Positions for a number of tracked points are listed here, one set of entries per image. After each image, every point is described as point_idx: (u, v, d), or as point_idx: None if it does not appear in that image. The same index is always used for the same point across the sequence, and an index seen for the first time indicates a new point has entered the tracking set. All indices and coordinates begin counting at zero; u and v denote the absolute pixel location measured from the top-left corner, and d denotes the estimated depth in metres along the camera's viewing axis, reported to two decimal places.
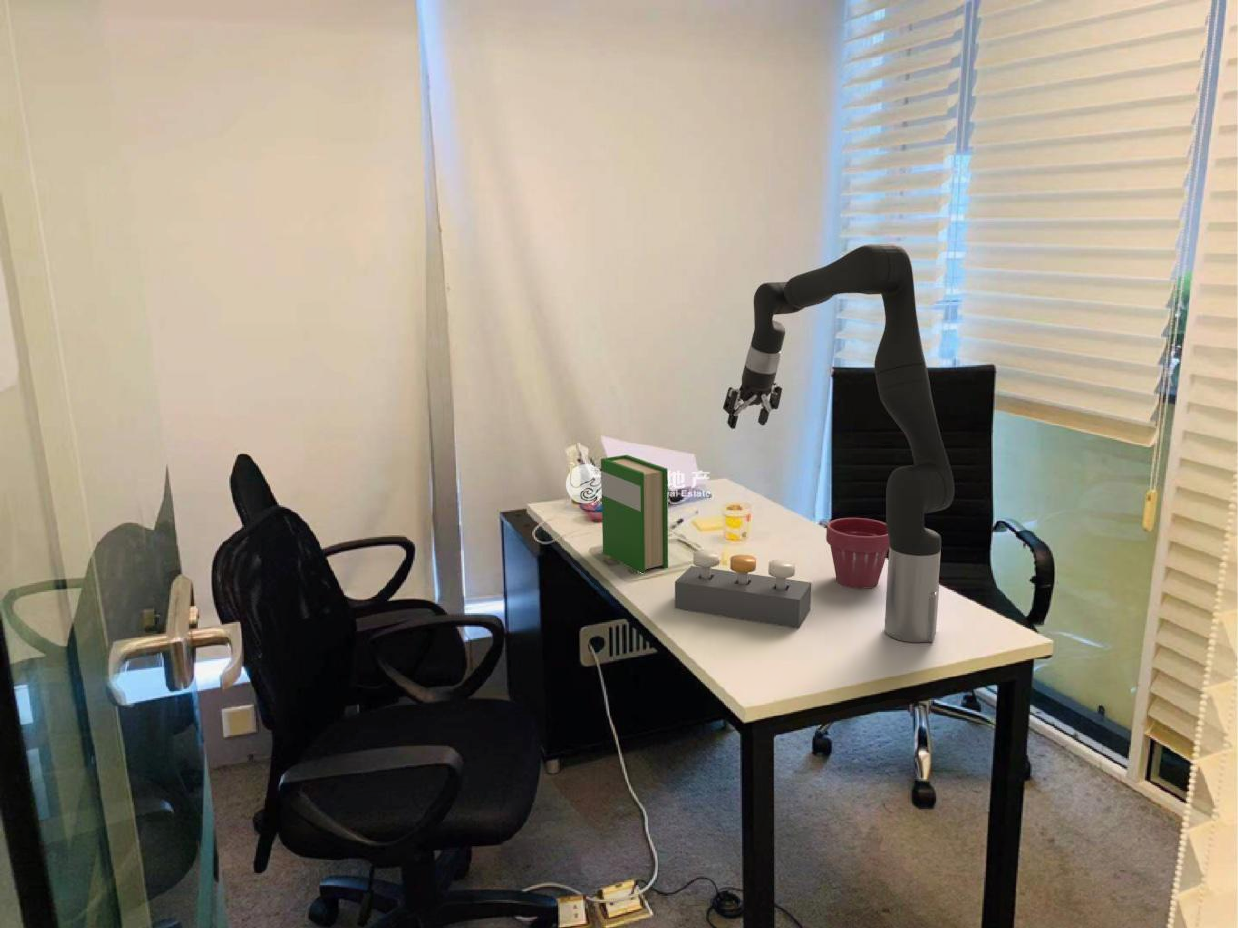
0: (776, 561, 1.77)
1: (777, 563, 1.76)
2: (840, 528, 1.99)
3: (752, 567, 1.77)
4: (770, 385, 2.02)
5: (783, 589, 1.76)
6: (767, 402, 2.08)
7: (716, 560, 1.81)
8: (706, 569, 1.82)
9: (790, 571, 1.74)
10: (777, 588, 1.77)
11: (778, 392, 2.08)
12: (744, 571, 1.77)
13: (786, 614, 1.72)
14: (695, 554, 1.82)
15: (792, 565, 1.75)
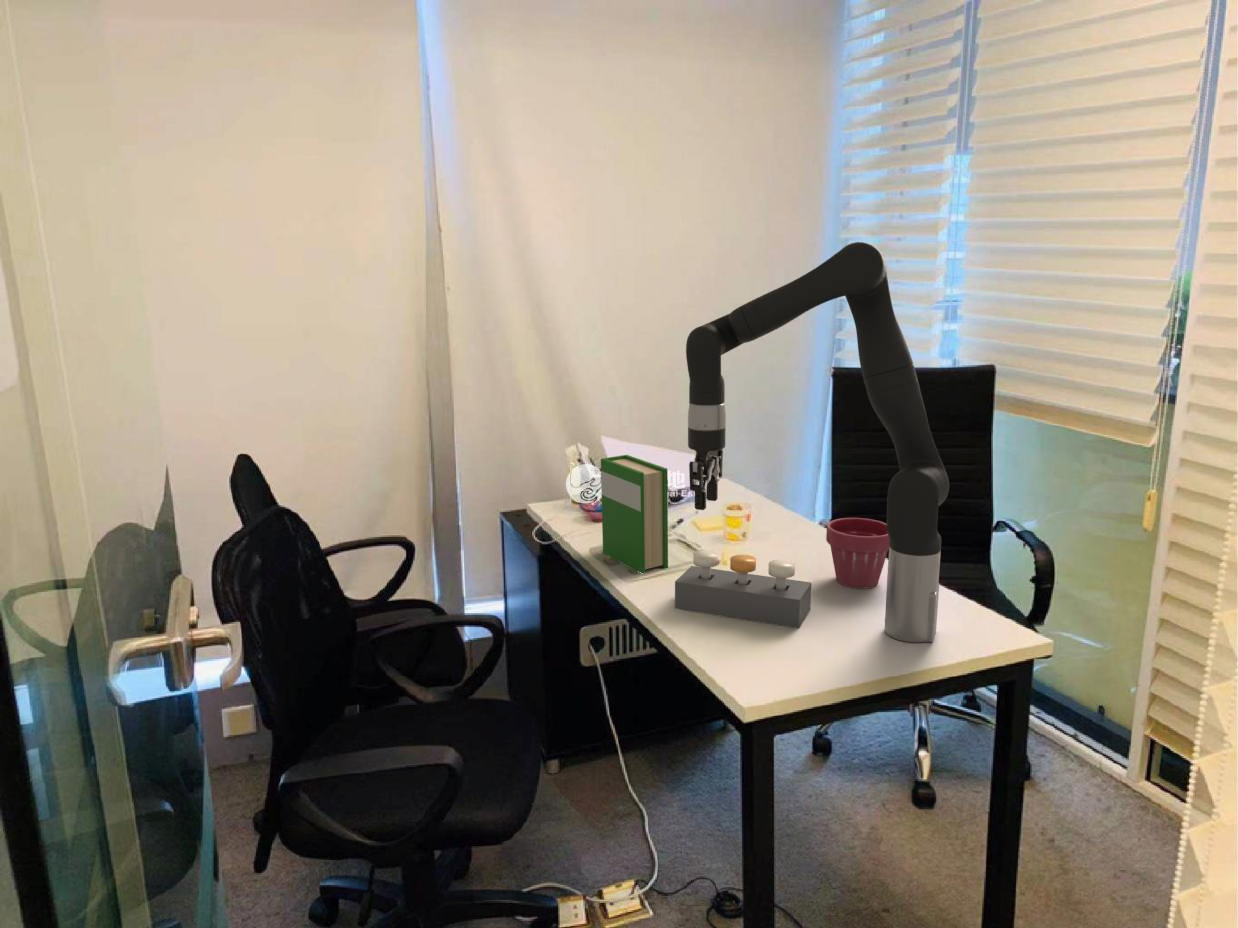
0: (776, 561, 1.77)
1: (777, 563, 1.76)
2: (840, 528, 1.99)
3: (752, 567, 1.77)
4: None
5: (783, 589, 1.76)
6: (718, 468, 1.80)
7: (716, 560, 1.81)
8: (706, 569, 1.82)
9: (790, 571, 1.74)
10: (777, 588, 1.77)
11: (721, 455, 1.83)
12: (744, 571, 1.77)
13: (786, 614, 1.72)
14: (695, 554, 1.82)
15: (792, 565, 1.75)
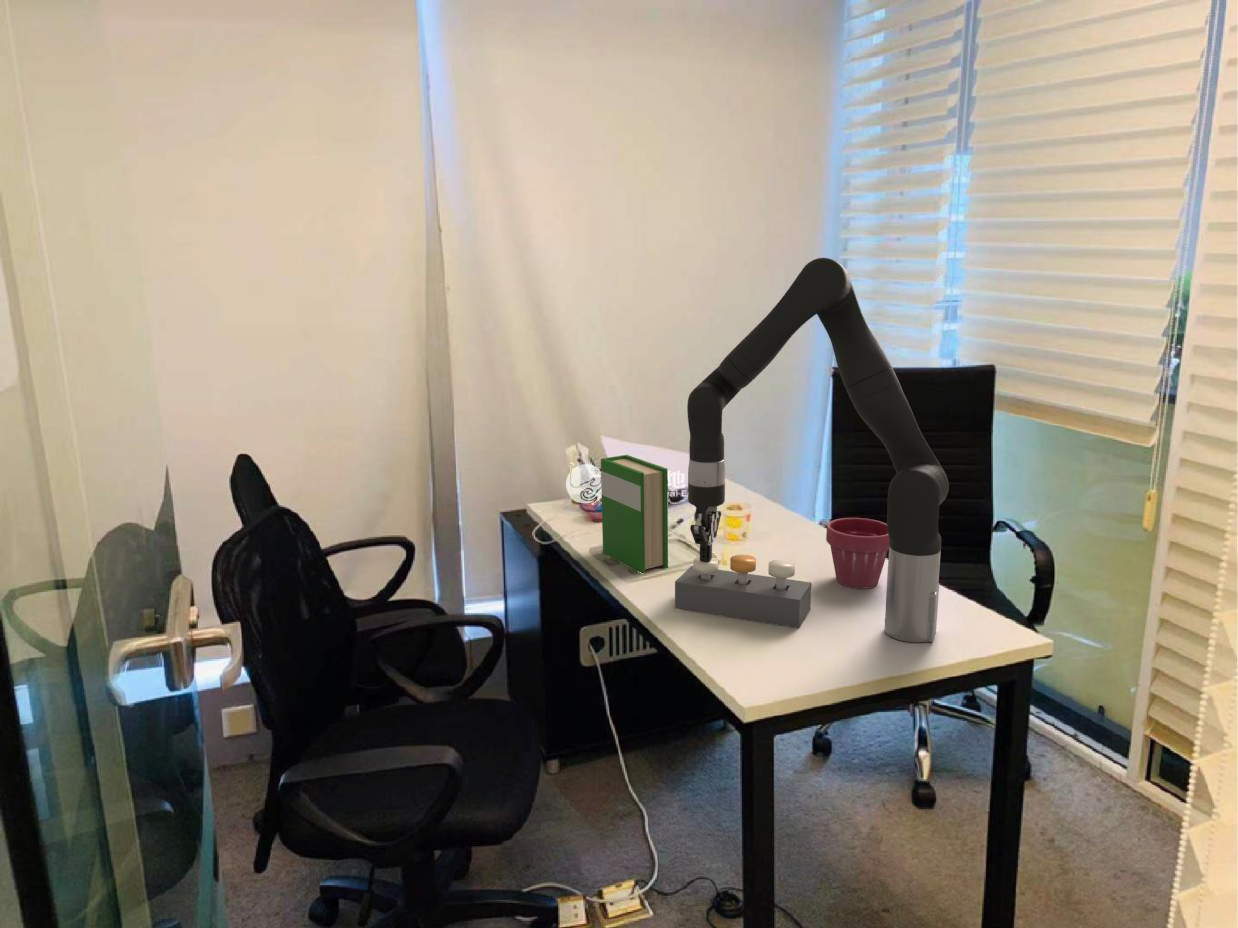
0: (776, 561, 1.77)
1: (777, 563, 1.76)
2: (840, 528, 1.99)
3: (752, 567, 1.77)
4: (724, 497, 1.79)
5: (783, 589, 1.76)
6: (715, 526, 1.81)
7: (716, 567, 1.81)
8: (706, 576, 1.83)
9: (790, 571, 1.74)
10: (777, 588, 1.77)
11: (719, 516, 1.85)
12: (744, 571, 1.77)
13: (786, 614, 1.72)
14: (695, 561, 1.83)
15: (792, 565, 1.75)
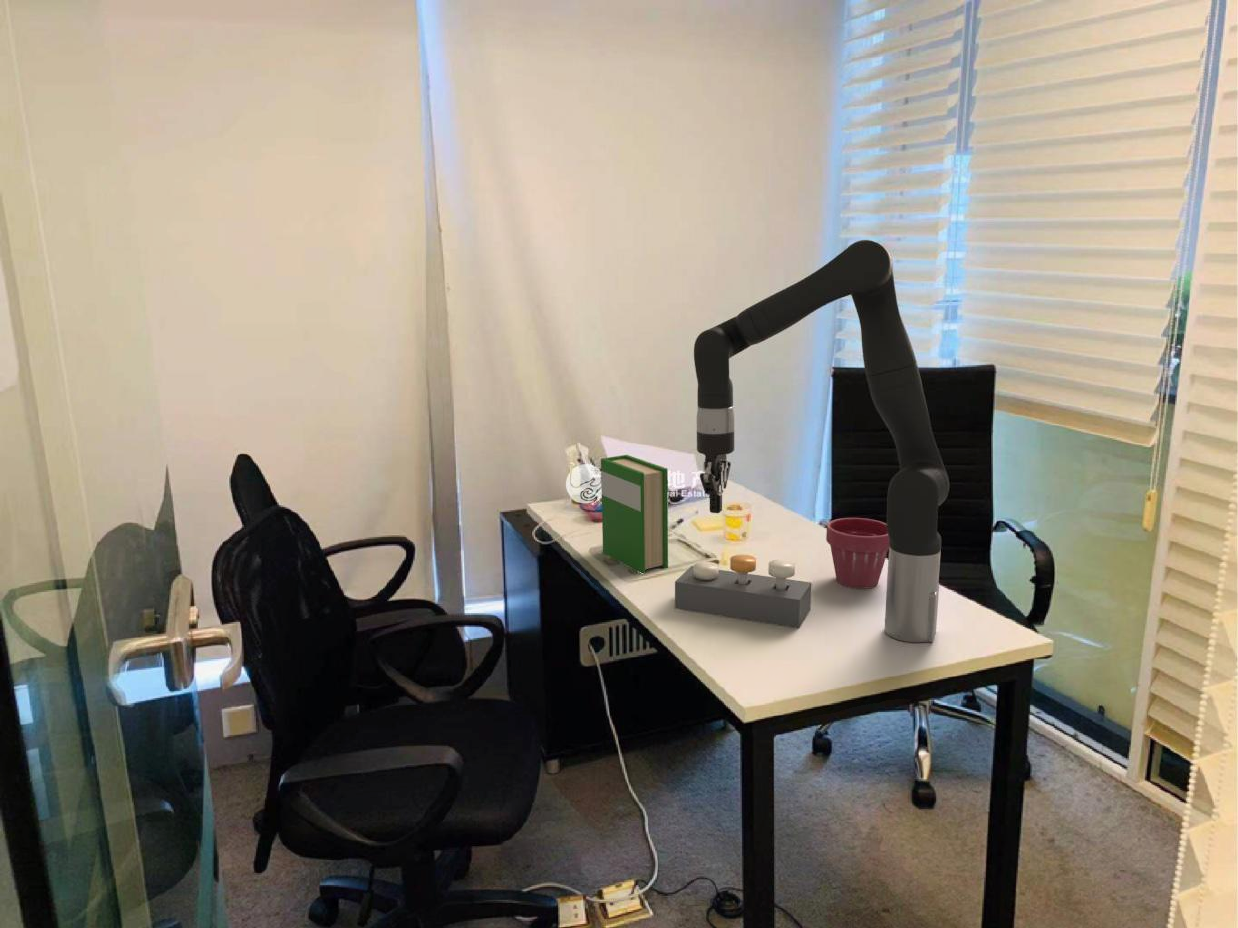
0: (776, 561, 1.77)
1: (777, 563, 1.76)
2: (840, 528, 1.99)
3: (752, 567, 1.77)
4: None
5: (783, 589, 1.76)
6: (725, 476, 1.78)
7: (716, 572, 1.82)
8: None
9: (790, 571, 1.74)
10: (777, 588, 1.77)
11: (728, 467, 1.81)
12: (744, 571, 1.77)
13: (786, 614, 1.72)
14: (695, 566, 1.83)
15: (792, 565, 1.75)
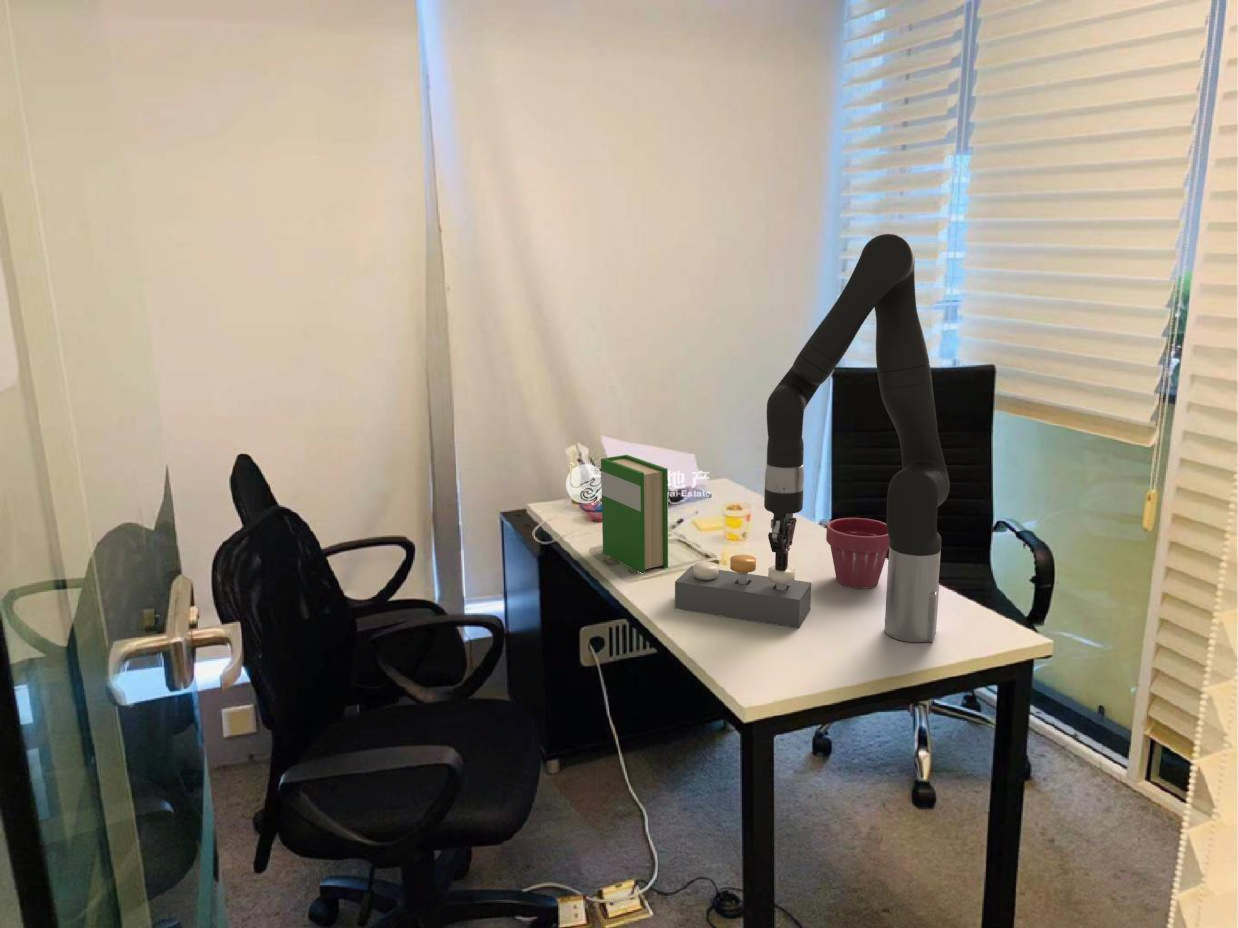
0: None
1: None
2: (840, 528, 1.99)
3: (752, 567, 1.77)
4: None
5: None
6: (792, 533, 1.75)
7: (716, 572, 1.82)
8: None
9: (790, 577, 1.74)
10: None
11: (794, 523, 1.78)
12: (744, 571, 1.77)
13: (786, 614, 1.72)
14: (695, 566, 1.83)
15: (792, 571, 1.75)
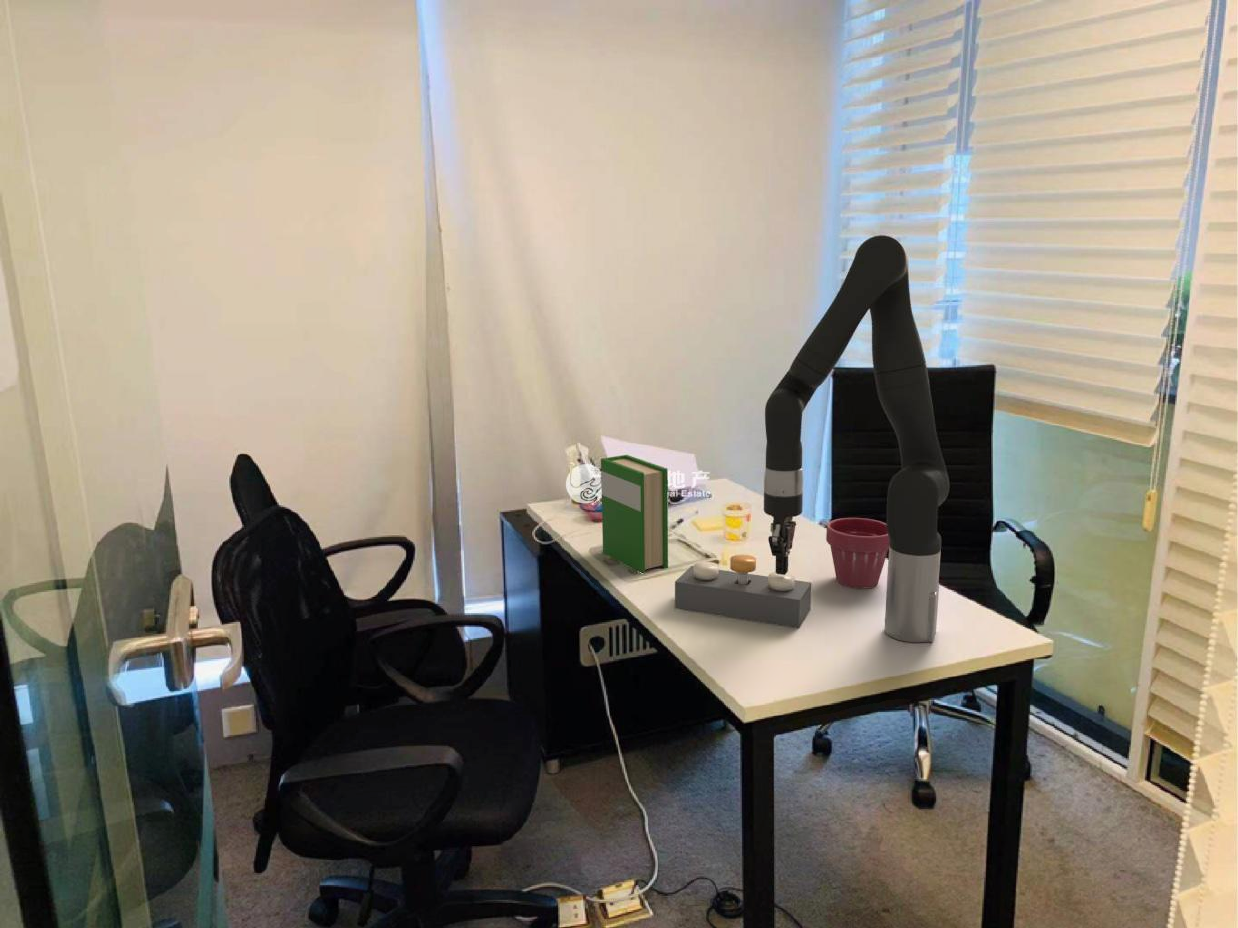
0: (776, 573, 1.78)
1: (777, 575, 1.77)
2: (840, 528, 1.99)
3: (752, 567, 1.77)
4: None
5: None
6: (792, 537, 1.75)
7: (716, 572, 1.82)
8: None
9: (790, 583, 1.75)
10: None
11: (794, 526, 1.78)
12: (744, 571, 1.77)
13: (786, 614, 1.72)
14: (695, 566, 1.83)
15: (792, 577, 1.76)
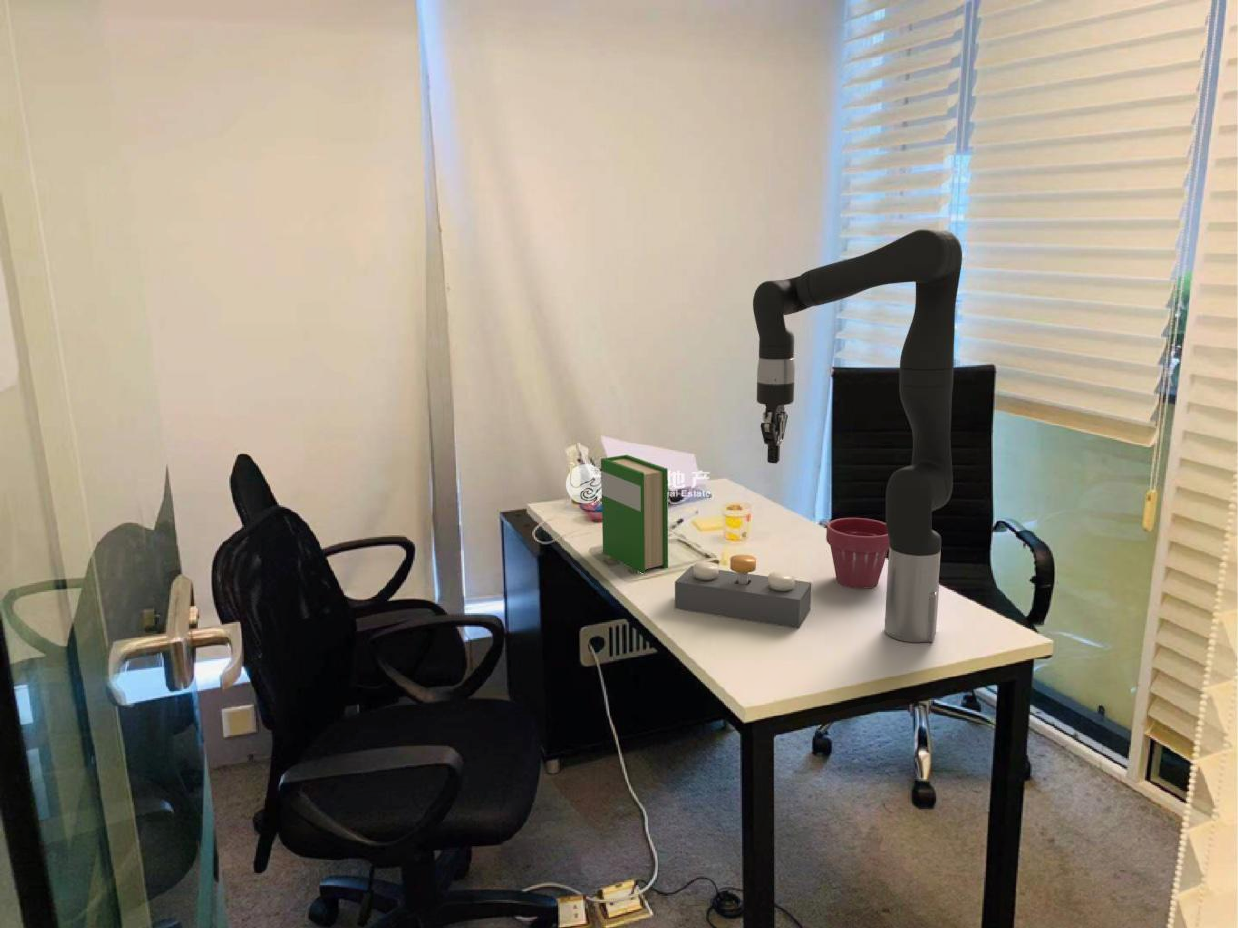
0: (776, 573, 1.78)
1: (777, 575, 1.77)
2: (840, 528, 1.99)
3: (752, 567, 1.77)
4: None
5: None
6: (783, 427, 1.82)
7: (716, 572, 1.82)
8: None
9: (790, 583, 1.75)
10: None
11: (785, 419, 1.85)
12: (744, 571, 1.77)
13: (786, 614, 1.72)
14: (695, 566, 1.83)
15: (792, 577, 1.76)
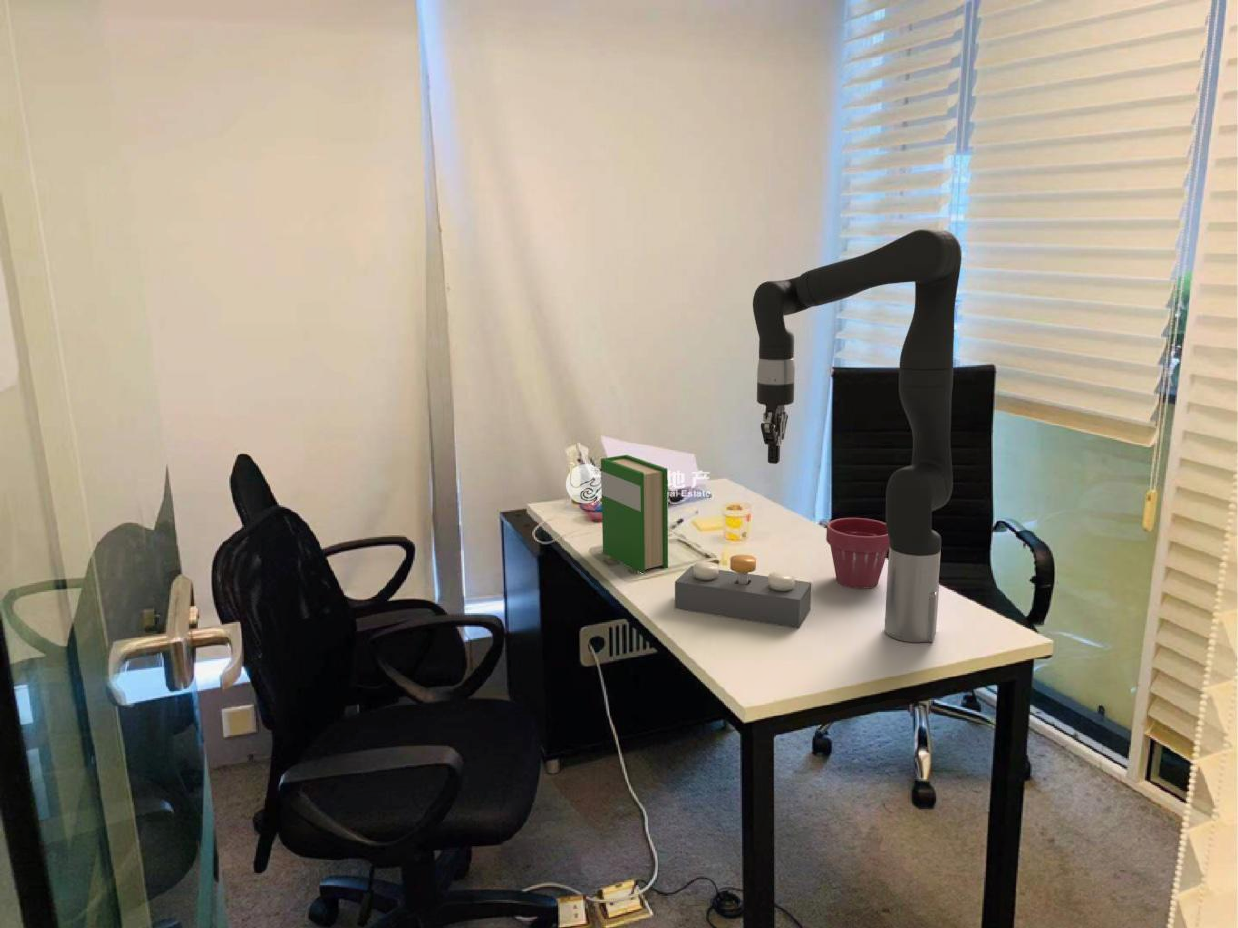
0: (776, 573, 1.78)
1: (777, 575, 1.77)
2: (840, 528, 1.99)
3: (752, 567, 1.77)
4: None
5: None
6: (783, 427, 1.82)
7: (716, 572, 1.82)
8: None
9: (790, 583, 1.75)
10: None
11: (786, 419, 1.85)
12: (744, 571, 1.77)
13: (786, 614, 1.72)
14: (695, 566, 1.83)
15: (792, 577, 1.76)
